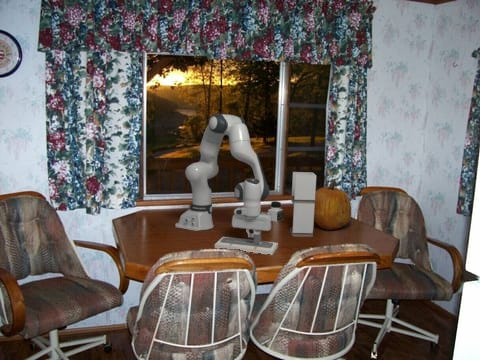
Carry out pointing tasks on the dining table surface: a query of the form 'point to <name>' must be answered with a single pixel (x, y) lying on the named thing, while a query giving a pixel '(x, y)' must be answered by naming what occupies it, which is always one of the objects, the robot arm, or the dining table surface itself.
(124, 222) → the dining table surface
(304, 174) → the light grey rectangular tower
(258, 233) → the fader tab
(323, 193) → the pumpkin
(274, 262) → the dining table surface
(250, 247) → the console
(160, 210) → the dining table surface
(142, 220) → the dining table surface
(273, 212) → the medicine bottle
